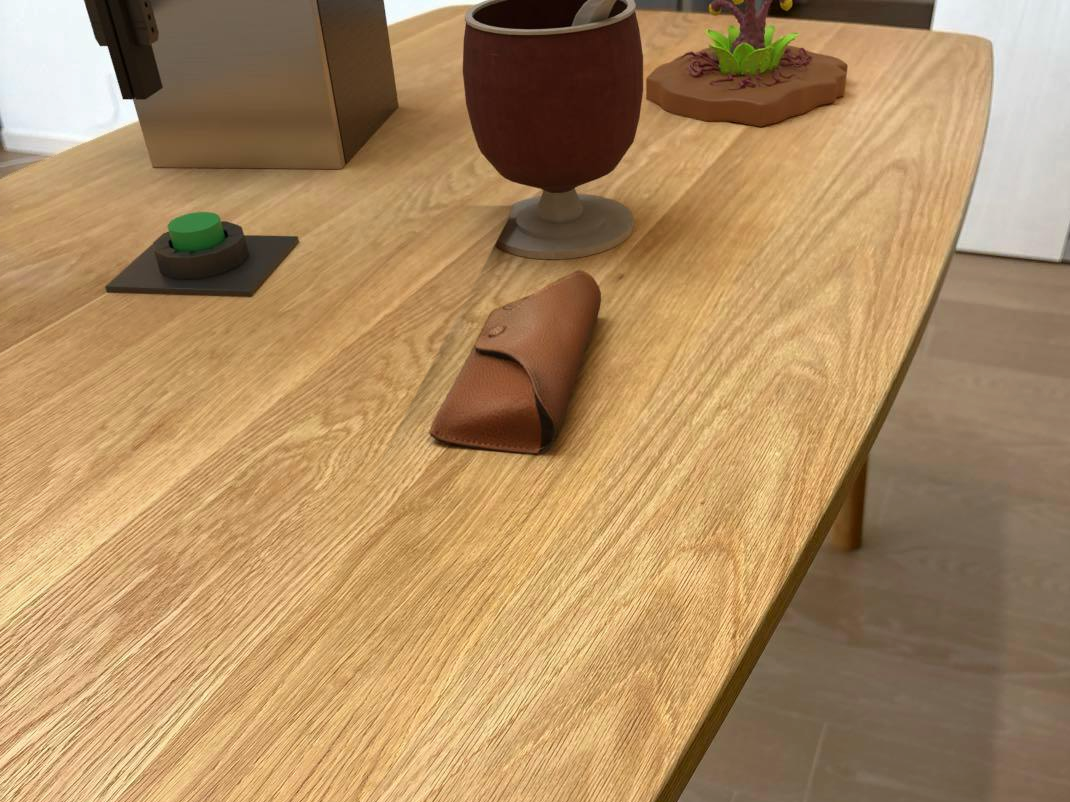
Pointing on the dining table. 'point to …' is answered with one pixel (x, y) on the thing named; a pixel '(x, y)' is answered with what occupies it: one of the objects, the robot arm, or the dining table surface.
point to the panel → (205, 266)
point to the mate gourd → (555, 114)
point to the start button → (196, 231)
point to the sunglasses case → (522, 370)
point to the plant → (747, 74)
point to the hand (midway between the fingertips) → (143, 93)
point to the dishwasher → (358, 68)
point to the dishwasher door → (241, 87)
